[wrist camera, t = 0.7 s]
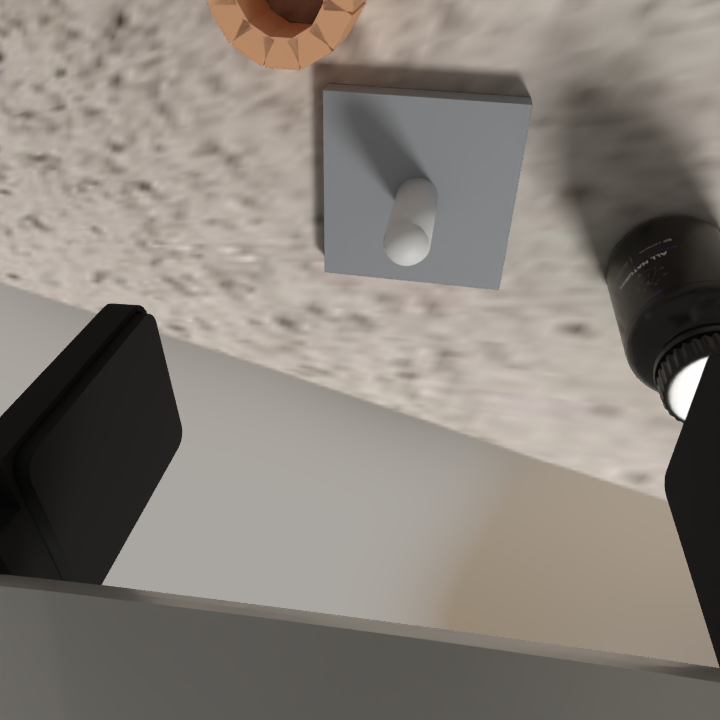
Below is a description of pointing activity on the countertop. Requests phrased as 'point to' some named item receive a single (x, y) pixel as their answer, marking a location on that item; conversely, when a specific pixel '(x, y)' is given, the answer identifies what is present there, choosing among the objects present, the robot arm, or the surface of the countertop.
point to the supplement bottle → (668, 304)
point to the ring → (284, 31)
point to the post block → (420, 182)
